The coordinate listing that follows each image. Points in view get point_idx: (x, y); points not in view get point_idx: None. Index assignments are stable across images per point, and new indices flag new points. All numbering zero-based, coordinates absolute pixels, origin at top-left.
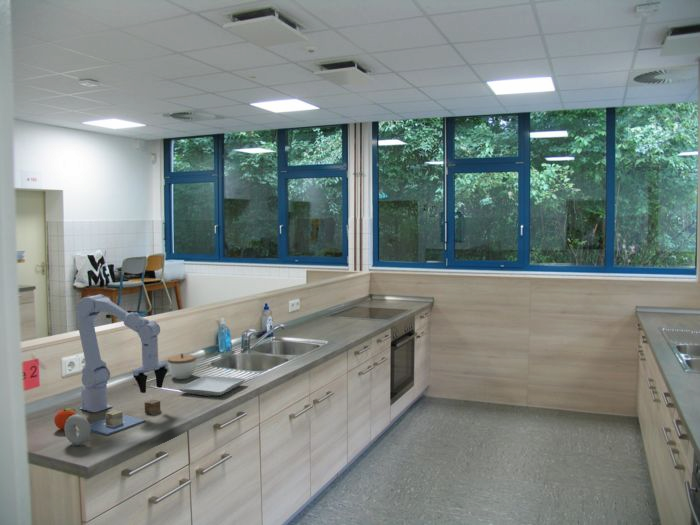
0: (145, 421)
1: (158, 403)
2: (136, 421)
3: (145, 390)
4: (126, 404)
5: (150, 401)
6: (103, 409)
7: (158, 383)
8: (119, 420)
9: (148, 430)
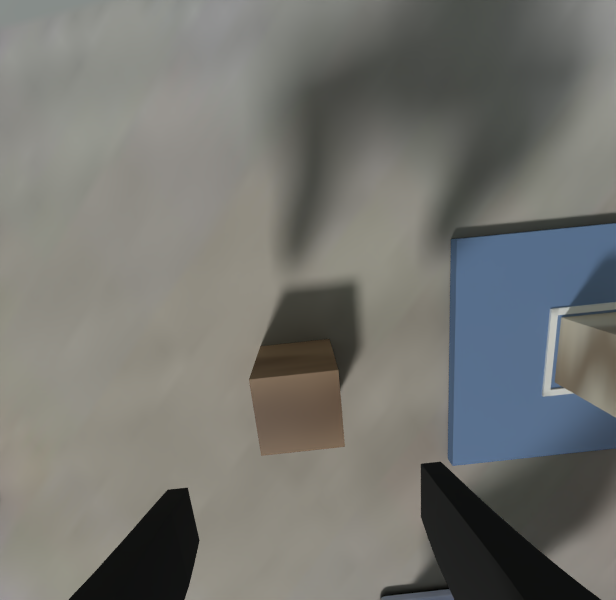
0: (454, 239)
1: (269, 369)
2: (508, 264)
3: (444, 480)
4: (306, 585)
5: (305, 427)
6: (437, 592)
7: (170, 579)
8: (607, 320)
9: (570, 53)
